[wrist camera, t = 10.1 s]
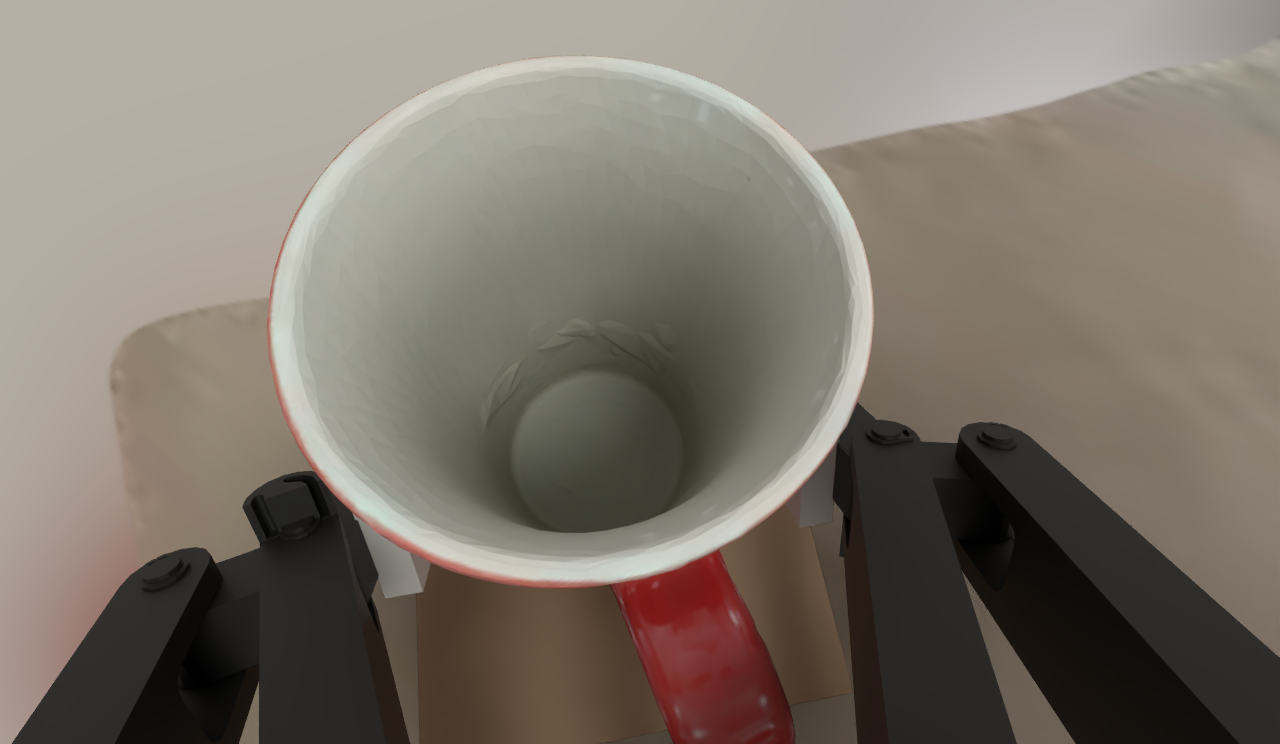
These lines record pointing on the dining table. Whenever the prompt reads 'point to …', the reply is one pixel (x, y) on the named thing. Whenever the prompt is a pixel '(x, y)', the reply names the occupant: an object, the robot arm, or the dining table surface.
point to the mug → (581, 349)
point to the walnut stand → (602, 648)
